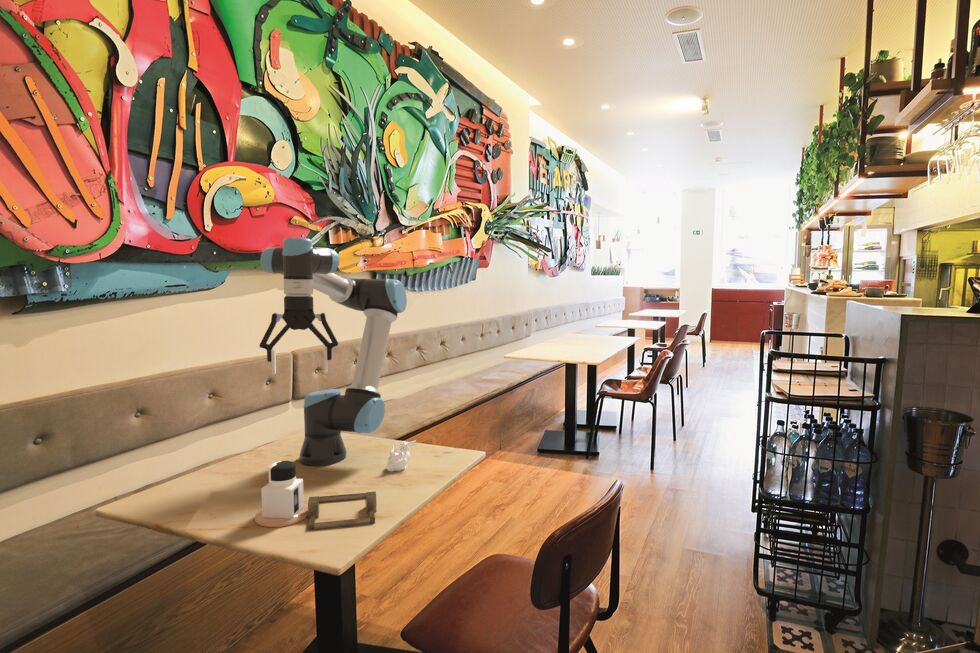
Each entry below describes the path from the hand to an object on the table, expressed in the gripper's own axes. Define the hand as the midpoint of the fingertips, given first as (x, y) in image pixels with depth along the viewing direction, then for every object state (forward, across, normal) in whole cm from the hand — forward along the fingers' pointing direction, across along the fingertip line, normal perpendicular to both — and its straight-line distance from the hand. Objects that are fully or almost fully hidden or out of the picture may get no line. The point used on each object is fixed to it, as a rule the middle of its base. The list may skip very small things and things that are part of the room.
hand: (300, 372), depth 152 cm
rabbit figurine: (+35, +29, +16) cm, 48 cm away
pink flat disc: (+35, -4, -13) cm, 37 cm away
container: (+34, -4, -12) cm, 37 cm away
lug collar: (+35, +11, -14) cm, 39 cm away
